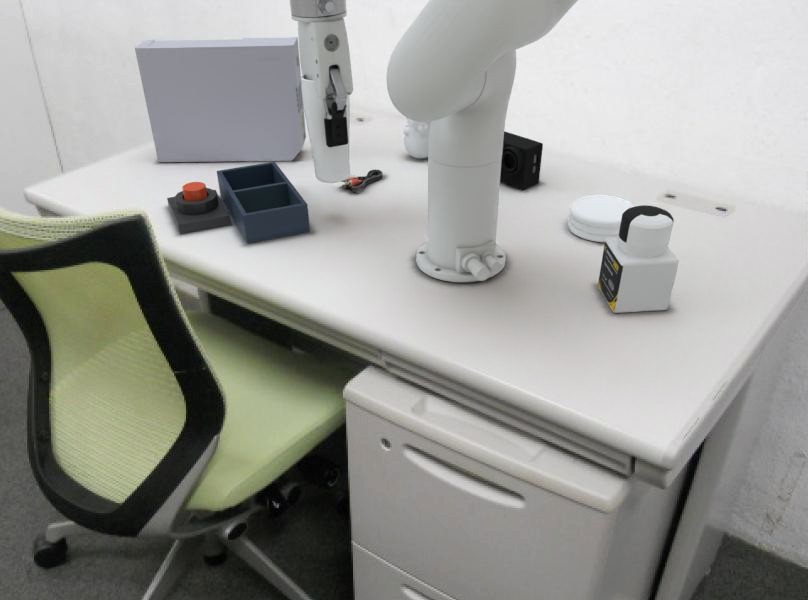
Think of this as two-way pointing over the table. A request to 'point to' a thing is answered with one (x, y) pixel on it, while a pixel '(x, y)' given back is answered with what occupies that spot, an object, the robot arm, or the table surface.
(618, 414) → the table surface
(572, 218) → the round white container
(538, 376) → the table surface
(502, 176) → the digital camera
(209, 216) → the control block
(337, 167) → the drinking glass
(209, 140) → the game console
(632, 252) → the medicine bottle
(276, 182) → the divided tray
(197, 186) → the button
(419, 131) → the figurine
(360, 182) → the composite cable
